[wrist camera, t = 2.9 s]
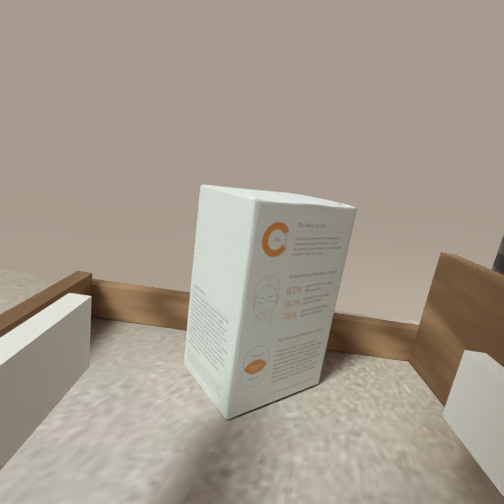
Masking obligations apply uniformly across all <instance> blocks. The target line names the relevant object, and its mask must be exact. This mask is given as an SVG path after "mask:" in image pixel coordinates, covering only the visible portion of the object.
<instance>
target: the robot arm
mask: <svg viewBox="0 0 504 504" xmlns="http://www.w3.org/2000/svg"><path fill="white" fill-rule="evenodd" d="M492 270H493V271H495V272H497V273H500V274H502V275H504V236H503V238H502V241H501V244H500V247H499V250H498V253H497V256H496V259H495V261H494V264H493V267H492ZM91 298H92V296H87V295H81V294H74V293H68V294H67V295H65V296H64V297H62V298H60V299H59V300H57V301H56V302H54V303H53V304H51V305H50V306H48V307H47V308H45V309H44V310H42V311H40V312H39V313H37V314H36V315H34V316H33V317H31V318H30V319H28V320H27V321H25V322H24V323H22V324H20V325H19V326H17V327H16V328H14V329H13V330H11V331H10V332H8V333H7V334H5V335H4V336H2V337H1V338H0V470H1V469H2V468H3V467H4V466H5V464H6V463H7V462H8V461H9V460H10V459H11V457H12V456H13V455H14V454H15V453H16V452H17V450H18V449H19V448H20V447H21V446H22V445H23V443H24V442H25V441H26V440H27V439H28V438H29V436H30V435H31V434H32V433H33V432H34V431H35V429H36V428H37V427H38V426H39V425H40V424H41V422H42V421H43V420H44V419H45V418H46V417H47V415H48V414H49V413H50V412H51V411H52V409H53V408H54V407H55V406H56V405H57V404H58V402H59V401H60V400H61V399H62V398H63V397H64V395H65V394H66V393H67V392H68V391H69V390H70V388H71V387H72V386H73V385H74V384H75V383H76V381H77V380H78V379H79V378H80V377H81V376H82V374H83V373H84V372H85V371H86V370H87V369H88V367H89V358H90V328H91ZM442 416H443V418H444V419H445V420H446V422H447V423H448V424H449V426H450V427H451V428H452V430H453V431H454V432H455V434H456V435H457V436H458V437H459V439H460V440H461V441H462V443H463V444H464V445H465V447H466V448H467V449H468V451H469V452H470V453H471V455H472V456H473V457H474V459H475V460H476V461H477V462H478V464H479V465H480V466H481V468H482V469H483V470H484V472H485V473H486V474H487V476H488V477H489V478H490V480H491V481H492V482H493V484H494V485H495V486H496V488H497V489H498V490H499V491H500V493H501V494H502V495H503V497H504V367H503V366H501V365H500V364H499V363H498V362H496V361H495V360H494V359H493V358H491V357H490V356H489V355H488V354H486V353H482V352H475V351H468V350H464V353H463V356H462V359H461V362H460V365H459V368H458V371H457V374H456V376H455V379H454V382H453V385H452V388H451V391H450V394H449V397H448V400H447V402H446V405H445V408H444V411H443V414H442Z"/></svg>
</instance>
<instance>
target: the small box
mask: <svg viewBox="0 0 504 504" xmlns="http://www.w3.org/2000/svg"><path fill="white" fill-rule="evenodd" d="M356 210H357V208H355V207H353V206H349V205H346V204H342V203H338V202H334V201H329V200H324V199H320V198H315V197H309V196H304V195H299V194H293V193H282V192H271V191H261V190H250V189H241V188H230V187H220V186H210V185H201V189H200V197H199V208H198V218H197V229H196V239H195V250H194V259H193V270H192V281H191V290H190V300H189V310H188V321H187V332H186V343H185V353H184V364H185V367H186V368H187V369H188V370H189V372H190V373H191V374H192V376H193V377H194V378H195V380H196V381H197V382H198V383H199V385H200V386H201V387H202V389H203V390H204V391H205V393H206V394H207V396H208V397H209V398H210V400H211V401H212V402H213V404H214V405H215V406H216V407H217V409H218V410H219V411H220V413H221V414H222V415H223V416H224V418H225V419H227V420H229V419H231V418H233V417H235V416H238V415H240V414H243V413H245V412H248V411H250V410H253V409H255V408H258V407H260V406H263V405H266V404H268V403H271V402H273V401H276V400H278V399H281V398H283V397H286V396H288V395H291V394H293V393H296V392H298V391H301V390H303V389H306V388H308V387H311V386H313V385H316V384H318V383H319V379H320V374H321V370H322V365H323V360H324V356H325V351H326V346H327V342H328V337H329V332H330V328H331V323H332V319H333V314H334V310H335V305H336V301H337V296H338V292H339V287H340V283H341V278H342V273H343V269H344V265H345V260H346V256H347V251H348V247H349V242H350V237H351V233H352V228H353V223H354V219H355V215H356Z"/></svg>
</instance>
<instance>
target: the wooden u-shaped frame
mask: <svg viewBox="0 0 504 504" xmlns="http://www.w3.org/2000/svg"><path fill="white" fill-rule="evenodd" d="M68 293H74V294H81V295H87V296H92V298H91V317H96V318H103V319H111V320H118V321H125V322H132V323H139V324H146V325H154V326H161V327H168V328H175V329H182V330H187V321H188V310H189V300H190V293H189V292H182V291H175V290H168V289H161V288H154V287H147V286H140V285H133V284H126V283H119V282H112V281H105V280H97V279H92V273H88V272H81V271H77V272H75V273H73V274H72V275H70V276H68V277H66V278H64V279H63V280H61V281H59V282H57V283H56V284H54V285H52V286H50V287H49V288H47V289H45V290H43V291H42V292H40V293H38V294H36V295H34V296H33V297H31V298H29V299H27V300H26V301H24V302H22V303H20V304H19V305H17V306H15V307H13V308H11V309H10V310H8V311H6V312H4V313H3V314H1V315H0V338H1V337H2V336H4V335H5V334H7V333H8V332H10V331H11V330H13V329H14V328H16V327H17V326H19V325H20V324H22V323H24V322H25V321H27V320H28V319H30V318H31V317H33V316H34V315H36V314H37V313H39V312H40V311H42V310H44V309H45V308H47V307H48V306H50V305H51V304H53V303H54V302H56V301H57V300H59V299H60V298H62V297H64V296H65V295H67V294H68ZM326 350H333V351H340V352H347V353H354V354H361V355H369V356H376V357H383V358H390V359H397V360H404V361H409V362H410V364H411V365H412V366H413V367H414V369H415V370H416V371H417V373H418V374H419V375H420V376H421V378H422V379H423V380H424V381H425V383H426V384H427V385H428V386H429V388H430V389H431V390H432V392H433V393H434V394H435V395H436V397H437V398H438V399H439V400H440V402H441V403H442V404H443V405H444V407H445V405H446V402H447V400H448V397H449V394H450V391H451V388H452V385H453V382H454V379H455V376H456V374H457V371H458V368H459V365H460V362H461V359H462V356H463V353H464V350H468V351H475V352H482V353H486V354H488V355H489V356H490V357H491V358H493V359H494V360H495V361H496V362H498V363H499V364H500V365H501V366H503V367H504V275H502V274H500V273H497V272H495V271H493V270H490V269H488V268H486V267H483V266H481V265H479V264H476V263H474V262H472V261H469V260H467V259H465V258H462V257H460V256H458V255H455V254H448V253H442V252H441V254H440V257H439V261H438V264H437V267H436V271H435V274H434V277H433V281H432V284H431V287H430V291H429V294H428V297H427V301H426V304H425V308H424V311H423V314H422V317H421V321H420V324H419V325H414V324H407V323H400V322H393V321H386V320H379V319H372V318H365V317H358V316H351V315H344V314H337V313H334V314H333V319H332V323H331V328H330V332H329V337H328V342H327V346H326Z"/></svg>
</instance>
